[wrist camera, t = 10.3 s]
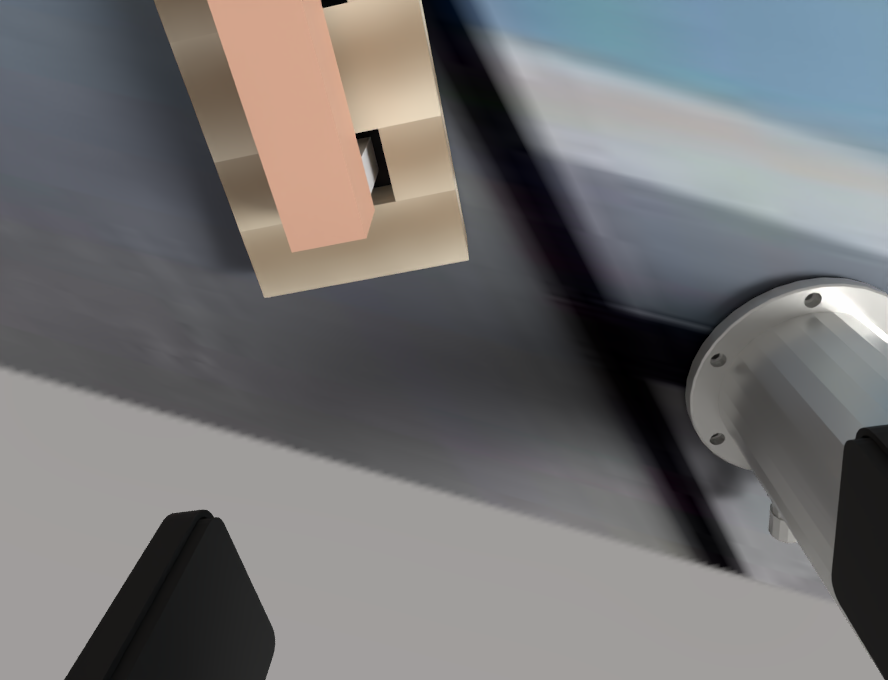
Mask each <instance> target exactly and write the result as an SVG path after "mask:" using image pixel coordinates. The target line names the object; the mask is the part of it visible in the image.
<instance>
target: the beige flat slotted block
mask: <svg viewBox="0 0 888 680" xmlns="http://www.w3.org/2000/svg"><path fill="white" fill-rule="evenodd" d="M154 2H155V5H156V8H157V10H158V13H159V16H160V18H161V21H162V24H163V27H164V29H165V32H166V35H167V37H168V40H169V43H170V45H171V48H172V51H173V53H174V56H175V59H176V61H177V64H178V67H179V69H180V72H181V75H182V78H183V80H184V83H185V86H186V88H187V91H188V94H189V96H190V99H191V102H192V104H193V107H194V110H195V112H196V115H197V118H198V121H199V123H200V126H201V129H202V131H203V134H204V137H205V139H206V142H207V145H208V147H209V150H210V153H211V155H212V158H213V161H214V164H215V166H216V169H217V172H218V174H219V177H220V180H221V182H222V185H223V188H224V190H225V193H226V196H227V198H228V201H229V204H230V206H231V209H232V212H233V215H234V217H235V220H236V223H237V225H238V228H239V231H240V233H241V236H242V239H243V241H244V244H245V247H246V249H247V252H248V255H249V258H250V260H251V263H252V266H253V268H254V271H255V274H256V276H257V279H258V282H259V284H260V287H261V290H262V292H263V295H264V298H268V297H273V296H279V295H284V294H289V293H295V292H300V291H305V290H311V289H316V288H322V287H327V286H332V285H338V284H343V283H349V282H354V281H359V280H365V279H370V278H376V277H381V276H386V275H392V274H397V273H403V272H408V271H413V270H419V269H424V268H430V267H435V266H440V265H446V264H451V263H456V262H462V261H467V260H469V256H468V245H467V236H466V231H465V226H464V220H463V215H462V210H461V205H460V199H459V194H458V189H457V184H456V179H455V173H454V168H453V163H452V158H451V152H450V147H449V142H448V137H447V132H446V126H445V121H444V116H443V111H442V105H441V100H440V95H439V90H438V84H437V79H436V74H435V69H434V64H433V58H432V53H431V48H430V43H429V37H428V32H427V27H426V22H425V17H424V11H423V6H422V1H421V0H347V2H348V3H343V4H339V5H334V6H330V7H326V8H323V12H324V15H325V19H326V23H327V27H328V31H329V35H330V39H331V42H332V46H333V50H334V54H335V58H336V62H337V66H338V69H339V73H340V77H341V81H342V85H343V89H344V93H345V96H346V100H347V104H348V108H349V112H350V116H351V120H352V123H353V127H354V131H355V133H360V132H365V131H369V130H374V129H378V130H379V134H380V139H381V143H382V147H383V151H384V155H385V159H386V163H387V167H388V172H389V176H390V180H391V184H392V185H387V186H382V187H377V188H373V189H372V192H371V197H372V201H373V205H374V208H375V211H374V215H373V218H372V221H371V225H370V228H369V232H368V235H367V238H366V239H361V240H355V241H350V242H345V243H340V244H335V245H329V246H324V247H319V248H314V249H308V250H303V251H298V252H293V253H292V252H291V249H290V246H289V243H288V240H287V237H286V234H285V231H284V228H283V225H282V222H281V219H280V216H279V213H278V210H277V207H276V204H275V201H274V198H273V195H272V192H271V189H270V186H269V183H268V180H267V177H266V174H265V171H264V168H263V165H262V162H261V159H260V156H259V153H258V150H257V147H256V144H255V141H254V139H253V136H252V133H251V130H250V127H249V124H248V121H247V118H246V115H245V112H244V109H243V106H242V103H241V100H240V97H239V94H238V91H237V88H236V85H235V82H234V79H233V76H232V73H231V70H230V67H229V64H228V61H227V58H226V55H225V52H224V49H223V46H222V43H221V40H220V37H219V34H218V31H217V28H216V25H215V22H214V19H213V16H212V13H211V10H210V7H209V4H208V1H207V0H154Z"/></svg>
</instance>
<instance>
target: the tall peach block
mask: <svg viewBox="0 0 888 680" xmlns="http://www.w3.org/2000/svg"><path fill="white" fill-rule="evenodd" d="M207 1H208V4H209V7H210V10H211V13H212V16H213V19H214V22H215V25H216V28H217V31H218V34H219V37H220V40H221V43H222V46H223V49H224V52H225V55H226V58H227V61H228V64H229V67H230V70H231V73H232V76H233V79H234V82H235V85H236V88H237V91H238V94H239V97H240V100H241V103H242V106H243V109H244V112H245V115H246V118H247V121H248V124H249V127H250V130H251V133H252V136H253V139H254V141H255V144H256V147H257V150H258V153H259V156H260V159H261V162H262V165H263V168H264V171H265V174H266V177H267V180H268V183H269V186H270V189H271V192H272V195H273V198H274V201H275V204H276V207H277V210H278V213H279V216H280V219H281V222H282V225H283V228H284V231H285V234H286V237H287V240H288V243H289V246H290V249H291V252H292V253H293V252H298V251H303V250H308V249H314V248H319V247H324V246H329V245H335V244H340V243H345V242H350V241H355V240H361V239H366V238H367V235H368V232H369V228H370V225H371V221H372V218H373V215H374V211H375V208H374V205H373V201H372V197H371V192H372V189H373V187H374V184H375V181H376V178H377V175H378V172H379V168H378V164H377V160H376V156H375V152H374V148H373V144H372V140H371V137H367V138H362V139H356V135H355V131H354V127H353V123H352V120H351V116H350V112H349V108H348V104H347V100H346V96H345V93H344V89H343V85H342V81H341V77H340V73H339V69H338V66H337V62H336V58H335V54H334V50H333V46H332V42H331V39H330V35H329V31H328V27H327V23H326V19H325V15H324V12H323V8H322V4H321V0H207Z"/></svg>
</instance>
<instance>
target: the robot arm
mask: <svg viewBox="0 0 888 680" xmlns="http://www.w3.org/2000/svg"><path fill="white" fill-rule="evenodd" d="M685 399H686V406H687V413H688V415H689V418H690V420H691V423H692V425H693V427H694V429H695V431H696V432H697V434H698V436H699V437H700V439H701V441H702V442H703V443H704V444H705V445H706V446H707V447H708V448H709V449H710V450H711V452H712V453H713V454H715V455H717V456H718V457H720V458H721V459H723V460H724V461H726V462H727V463H730V464H733V465H735V466H738V467H740V468H743V469H747V470H752V471H753V472H754V474H755V475H756V477H757V478H758V480H759V482H760V483H761V485H762V486H763V488H764V490H765V491H766V493H767V495H768V496H769V497H770V499H771V501H772V504H771V506H770V518H769V532H770V534H771V535H772V536H773V537H774V538H775V539H777V540H778V541H781V542H785V543H796V542H798V544H799V545H800V547H801V548H802V550H803V551H804V553H805V555H806V556H807V558H808V559H809V561H810V563H811V564H812V566H813V567H814V569H815V571H816V572H817V574H818V575H819V577H820V579H821V580H822V582H823V583H824V585H825V586H826V588H827V590H828V591H829V593H830V594H831V596H832V598H833V599H834V601H835V602H836V604H837V606H838V607H839V609H840V610H841V612H842V613H843V615H844V617H845V618H846V620H847V621H848V623H849V624H850V626H851V628H852V629H853V631H854V633H855V634H856V636H857V637H858V639H859V640H860V642H861V644H862V645H863V647H864V648H865V650H866V651H867V653H868V655H869V656H870V658H871V659H872V660H873V662H874V663H875V665H876V667H877V668H878V670H879V671H880V673H881V674H882V676H883V677H884V679H885V680H888V294H887V293H885V292H884V291H882V290H880V289H878V288H876V287H874V286H871V285H869V284H867V283H864V282H860V281H855V280H851V279H847V278H826V277H823V278H815V279H807V280H800V281H796V282H793V283H790V284H786V285H783V286H779V287H776V288H774V289H772V290H770V291H768V292H765V293H763V294H761V295H759V296H757V297H755V298H753V299H751V300H750V301H748V302H747V303H745V304H744V305H742V306H741V307H739V308H738V309H736V310H735V311H733V312H732V313H731V314H730V315H729V316H728V317H727V318H725V319H724V320H723V321H722V322H721V323H720V324H719V325H718V326H717V327H716V328H715V329H714V330H713V331H712V333H711V334H710V335H709V336H708V338H707V339H706V340H705V341H704V343H703V344H702V346H701V347H700V349H699V351H698V353H697V355H696V356H695V358H694V360H693V362H692V365H691V368H690V371H689V374H688V377H687V383H686V393H685ZM274 648H275V636H274V631H273V628H272V626H271V623H270V621H269V619H268V617H267V615H266V613H265V610H264V608H263V606H262V604H261V602H260V600H259V598H258V595H257V593H256V591H255V589H254V587H253V585H252V583H251V581H250V578H249V576H248V574H247V572H246V570H245V568H244V565H243V563H242V561H241V559H240V557H239V555H238V553H237V550H236V548H235V546H234V544H233V542H232V540H231V538H230V535H229V533H228V531H227V529H226V527H225V525H224V523H223V521H222V520H221V519H220V518H217V517H215V518H214V517H213V515H212V514H211V513H210V512H209V511H208V510H197V511H188V512H180V513H172V514H170V515H168V516H167V517H166V518H165V519H164V520H163V522H162V524H161V525H160V527H159V528H158V530H157V532H156V533H155V535H154V536H153V538H152V540H151V541H150V543H149V545H148V546H147V548H146V549H145V551H144V552H143V554H142V556H141V557H140V559H139V561H138V562H137V564H136V565H135V567H134V569H133V570H132V572H131V573H130V575H129V577H128V578H127V580H126V582H125V583H124V585H123V586H122V588H121V590H120V591H119V593H118V594H117V596H116V597H115V599H114V601H113V602H112V604H111V606H110V607H109V609H108V610H107V612H106V614H105V615H104V617H103V618H102V620H101V622H100V623H99V625H98V627H97V628H96V630H95V631H94V633H93V635H92V636H91V638H90V639H89V641H88V643H87V644H86V646H85V648H84V649H83V651H82V652H81V654H80V655H79V657H78V659H77V660H76V662H75V663H74V665H73V667H72V668H71V670H70V671H69V673H68V675H67V676H66V678H65V679H64V680H265V679H266V676H267V673H268V670H269V667H270V663H271V660H272V657H273V653H274Z"/></svg>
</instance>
